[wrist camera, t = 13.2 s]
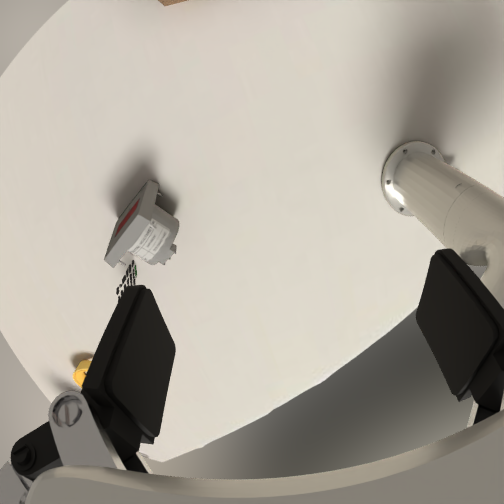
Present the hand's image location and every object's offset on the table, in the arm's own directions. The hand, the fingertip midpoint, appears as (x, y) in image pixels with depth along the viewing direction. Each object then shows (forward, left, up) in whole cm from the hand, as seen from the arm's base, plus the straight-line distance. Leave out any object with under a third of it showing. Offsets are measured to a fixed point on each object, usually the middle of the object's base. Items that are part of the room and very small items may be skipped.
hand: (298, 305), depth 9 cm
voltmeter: (+22, +16, -34) cm, 43 cm away
